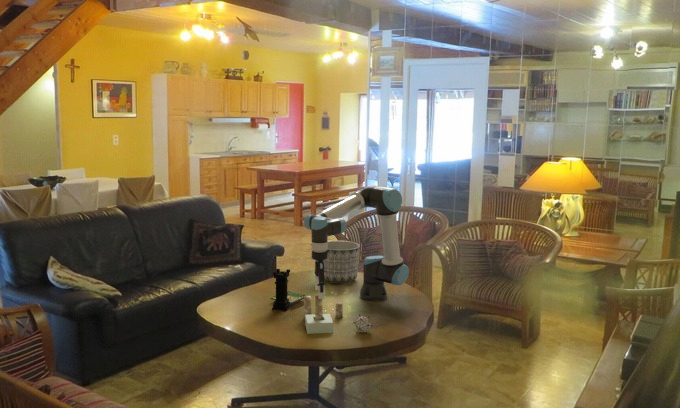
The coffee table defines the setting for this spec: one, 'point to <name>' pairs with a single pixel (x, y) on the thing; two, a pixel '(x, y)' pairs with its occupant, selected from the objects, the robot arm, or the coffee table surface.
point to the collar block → (318, 324)
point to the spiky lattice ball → (362, 324)
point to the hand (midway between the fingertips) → (319, 294)
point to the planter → (341, 261)
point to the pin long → (318, 308)
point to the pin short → (339, 310)
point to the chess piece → (281, 290)
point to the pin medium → (307, 305)
